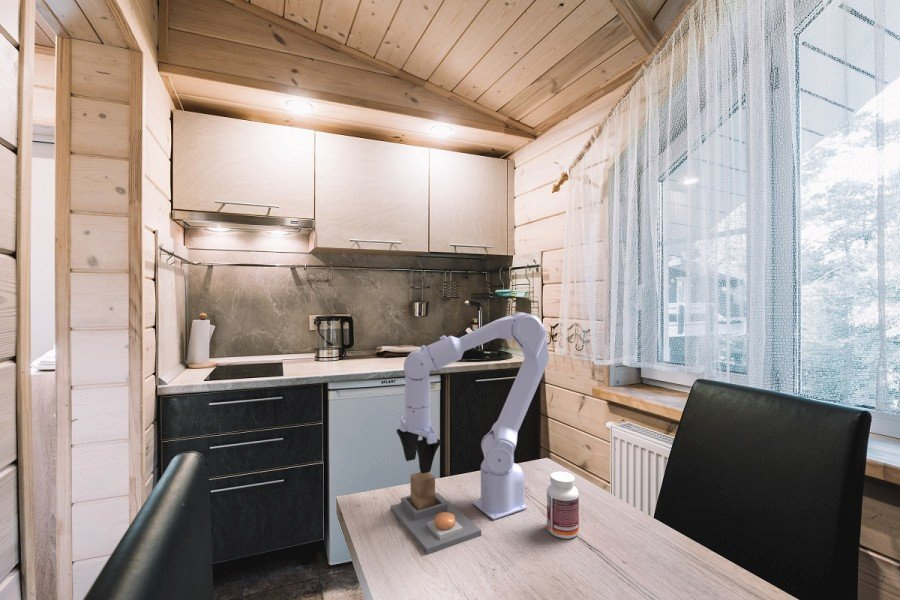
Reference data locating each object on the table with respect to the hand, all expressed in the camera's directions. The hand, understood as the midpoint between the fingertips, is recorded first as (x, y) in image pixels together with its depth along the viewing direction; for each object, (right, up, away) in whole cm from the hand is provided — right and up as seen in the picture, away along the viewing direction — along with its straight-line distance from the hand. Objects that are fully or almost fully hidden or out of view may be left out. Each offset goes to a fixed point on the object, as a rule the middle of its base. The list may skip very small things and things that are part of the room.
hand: (417, 465), depth 92 cm
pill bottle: (+30, -10, -9) cm, 33 cm away
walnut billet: (+1, -9, -2) cm, 9 cm away
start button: (+6, -8, -10) cm, 14 cm away
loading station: (+4, -10, -6) cm, 12 cm away
